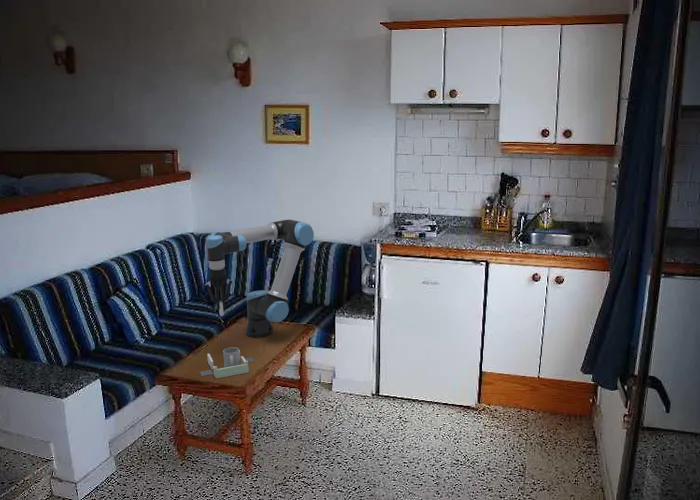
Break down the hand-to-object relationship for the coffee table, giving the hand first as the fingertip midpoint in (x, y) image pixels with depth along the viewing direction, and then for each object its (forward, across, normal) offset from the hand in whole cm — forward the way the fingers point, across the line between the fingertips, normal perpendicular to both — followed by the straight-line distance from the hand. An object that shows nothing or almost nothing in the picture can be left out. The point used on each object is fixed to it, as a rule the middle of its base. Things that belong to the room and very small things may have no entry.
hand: (221, 314), depth 286 cm
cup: (+21, +1, +19) cm, 28 cm away
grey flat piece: (+21, +2, +15) cm, 26 cm away
